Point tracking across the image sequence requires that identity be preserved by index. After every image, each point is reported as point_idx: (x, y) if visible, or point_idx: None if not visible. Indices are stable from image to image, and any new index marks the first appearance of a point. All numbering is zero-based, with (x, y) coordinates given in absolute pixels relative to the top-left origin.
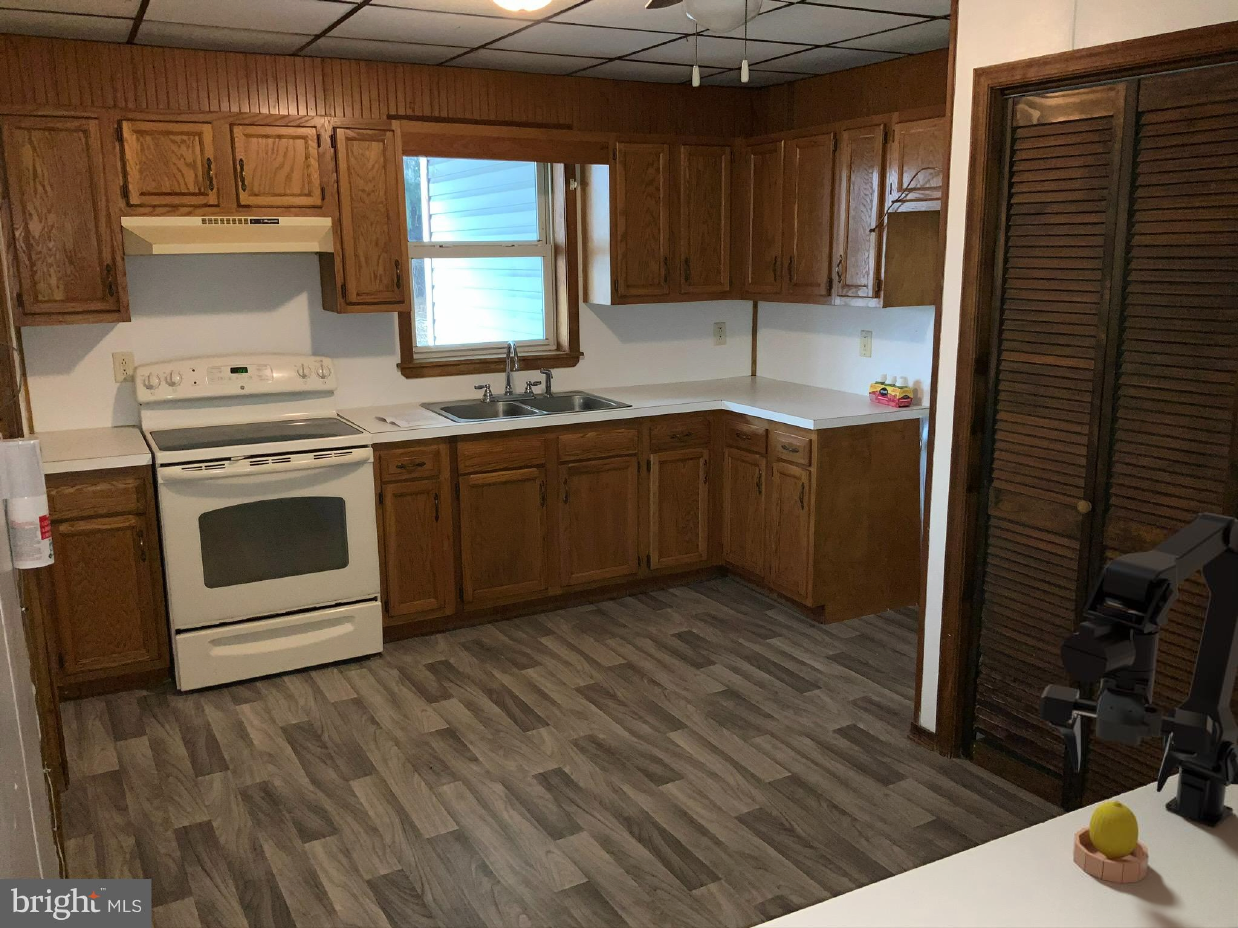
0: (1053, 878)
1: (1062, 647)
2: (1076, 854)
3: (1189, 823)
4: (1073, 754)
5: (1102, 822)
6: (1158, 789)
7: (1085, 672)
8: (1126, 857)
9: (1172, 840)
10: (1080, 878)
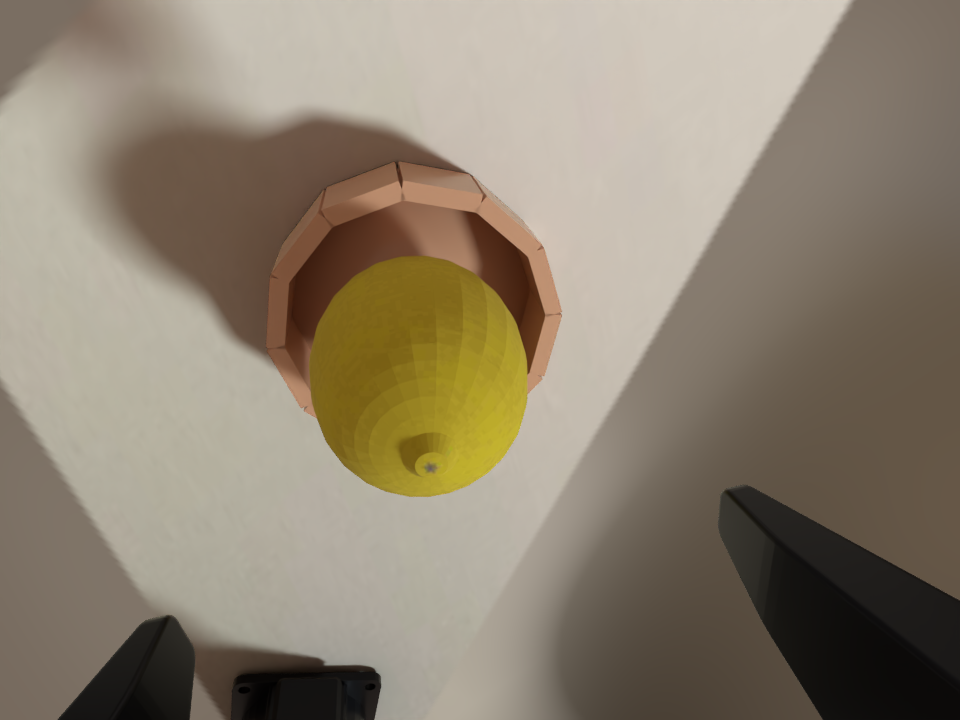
0: (560, 20)
1: None
2: (521, 222)
3: (298, 652)
4: (880, 583)
5: (461, 317)
6: (149, 631)
7: None
8: None
9: (299, 553)
10: (467, 105)
